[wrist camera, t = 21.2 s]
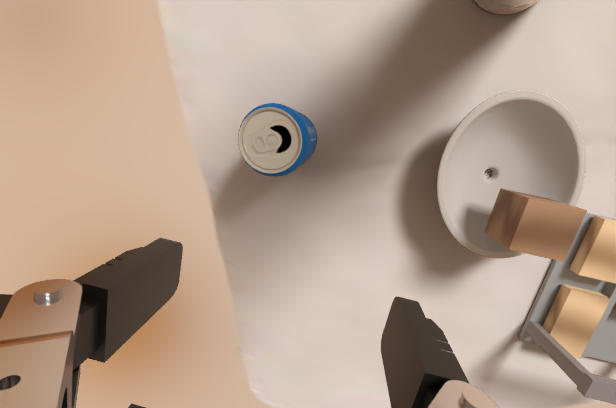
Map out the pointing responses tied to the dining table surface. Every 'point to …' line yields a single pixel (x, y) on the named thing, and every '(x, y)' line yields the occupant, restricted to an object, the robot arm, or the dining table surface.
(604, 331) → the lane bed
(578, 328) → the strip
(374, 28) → the dining table surface
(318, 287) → the dining table surface
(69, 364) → the robot arm
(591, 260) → the light wood block
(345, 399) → the dining table surface
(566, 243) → the walnut block
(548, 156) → the dish
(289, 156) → the beverage can
